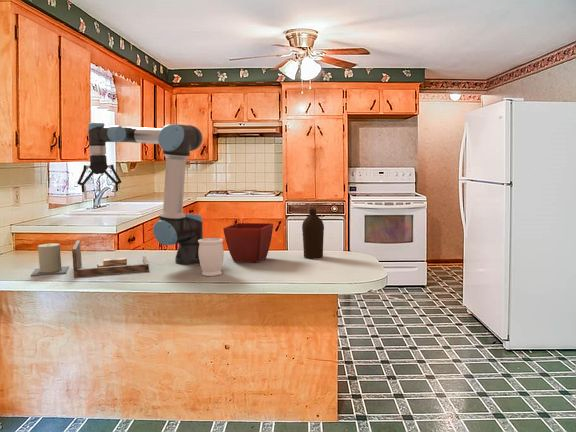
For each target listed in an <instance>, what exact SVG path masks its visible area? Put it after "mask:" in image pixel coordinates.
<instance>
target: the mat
mask: <svg viewBox="0 0 576 432" xmlns="http://www.w3.org/2000/svg"><path fill="white" fill-rule="evenodd" d="M61 267H62V270H60V271H56V272H48V273H43V272H40V267H39V268H35V269H34V270H33V271H32V273H31V274H30V277H41V276H53V275H55V276H56V275H65V274H67V272H68V270H69V266H67V265H66V266H61Z"/></svg>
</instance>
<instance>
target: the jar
mask: <svg viewBox="0 0 576 432" xmlns="http://www.w3.org/2000/svg"><path fill="white" fill-rule="evenodd" d="M223 242H224V239H223V238H219V237H218V238H217V237H206V238H203V239H200V240H198V243H199V244H200V245H199V251H198V254H199V261H200V263H199V264H200V268H201V275H202V276H205V277H216V276H220V275H221V274H223V273H222V267H223V264H224V257H225V255H224V253H225V252H224V245H223Z"/></svg>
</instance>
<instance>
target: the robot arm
mask: <svg viewBox="0 0 576 432" xmlns="http://www.w3.org/2000/svg"><path fill="white" fill-rule="evenodd" d="M87 127H88V129H87V133H88V145H89V148H88V149H89V150H88V151H89V154H90V156H89V161H90V164H89V165H86V164H84V165H83V169H82V172H81V173H80V176H79V178H78V180H77V185H79V186H81V192H82V193H84V200H87V199H88V197H87V195H88V193H87V185H85V184H87V182H88V181H89V180H90V179H91V177H92V176H93V175H94V174H95V175H99V174H100V175H103V174H105V175H106V176H107V177H108V178H109V179H110V180H111V182H112V183H113V196H114V197H113V198H114V199H117V192H118V191H119V185H120V184H122V181H121V178H120V177H119V175H118V173H117V171H116V170H115V166H114V164H109V165H108V163H107V160H108V159H107V155H106V154H107V146H106V144H107V143H135V144H150V145H151V144H152V145H153V144H154V145H159V147H160V148H161V149H162V155H163V156H164V157H165V174H164V188H163V189H164V190H163V191H164V192H163V204H162V205H163V206H162V207H163V208H162V211H161V212H160V213H159V215H158V220H157V221H156V222H155V223H154V225H153V227H152V231H153V233H152V234H153V236H154V239H155V240H156V241H157V243H159V244H160V245H163V246H174V245H177V244H178V245H177V247H178V248H177V250H176V253H175V254H176V255H175V260H174V261H175V263H176V264H179V265H196V264H200V261H199V254H198V251H199V245H200V244H199V243H198V240H200V239H204V238H203V237H204V235H203V217H202V215H201V214H194V213H193V214H190V213H184V212H183V210H184V209H183V208H184V207H183V206H184V192H185V180H186V179H185V177H186V163H187V161H186V160H187V159H188V158H189V157H190V156H191V155H190V154H191V152H193V151H196V150H197V149H199V148H200V147H201V146H202V143H203V140H204V139H203V133H202V131H201V129H199V128H198V127H196V126H194V125H192V124H191V125H190V124H189V125H188V124H178V123H170V124H169V123H168V124H166V125H164V126H163V128H159V127H157V128H155V127H137V126H122V125H110V126H109V125H105V123H104V122H96V121H95V122H89V123H88V125H87ZM89 169H90V170H91V172H90V173H89V174H88V175H87V177H86V178H85V179H84V180H83V178H84V176H85V174H86V171H88V170H89ZM107 169H109V170H111V171H112V173H113V174H114V176H115V178H116V179H115V178H114V177H113V176H112V175H111V174H110V173H109V172H108V170H107ZM82 180H83V181H82Z"/></svg>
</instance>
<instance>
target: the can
mask: <svg viewBox="0 0 576 432" xmlns="http://www.w3.org/2000/svg"><path fill="white" fill-rule="evenodd" d="M37 252H38V263H39V264H38V265H39V268H40V272H43V273H48V272H56V271H60V270H62V267H63V266H62V258H61V243H56V242H55V243H54V242H53V243H52V242H51V243H44V244H38V245H37Z"/></svg>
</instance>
